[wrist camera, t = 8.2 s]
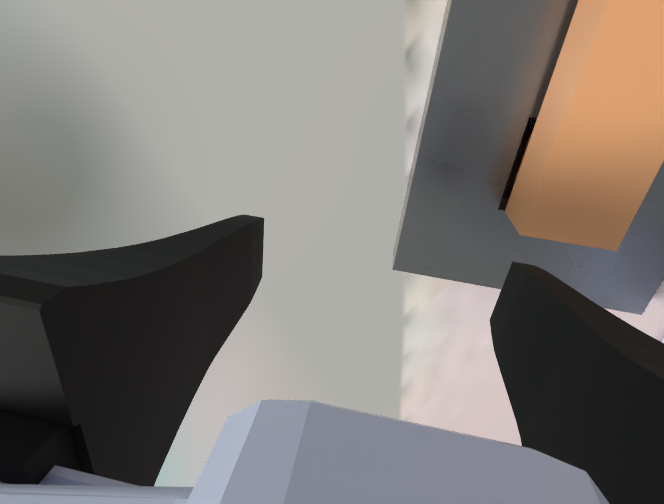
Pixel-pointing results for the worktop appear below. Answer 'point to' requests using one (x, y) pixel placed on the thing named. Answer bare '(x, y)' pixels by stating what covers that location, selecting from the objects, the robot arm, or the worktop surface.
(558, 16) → the gray rectangular slab
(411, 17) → the worktop surface
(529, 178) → the clip
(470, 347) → the worktop surface
